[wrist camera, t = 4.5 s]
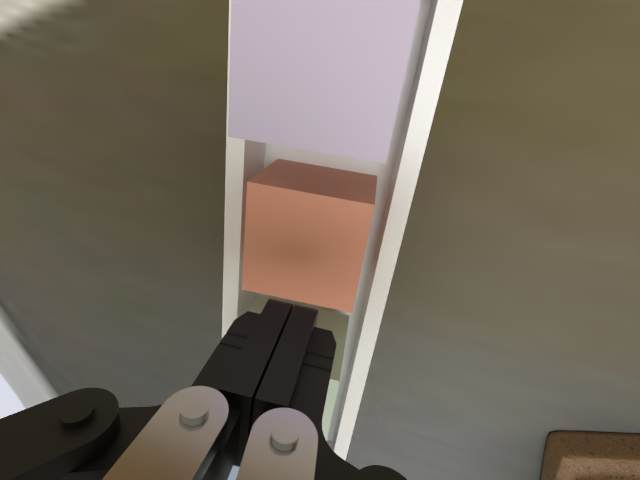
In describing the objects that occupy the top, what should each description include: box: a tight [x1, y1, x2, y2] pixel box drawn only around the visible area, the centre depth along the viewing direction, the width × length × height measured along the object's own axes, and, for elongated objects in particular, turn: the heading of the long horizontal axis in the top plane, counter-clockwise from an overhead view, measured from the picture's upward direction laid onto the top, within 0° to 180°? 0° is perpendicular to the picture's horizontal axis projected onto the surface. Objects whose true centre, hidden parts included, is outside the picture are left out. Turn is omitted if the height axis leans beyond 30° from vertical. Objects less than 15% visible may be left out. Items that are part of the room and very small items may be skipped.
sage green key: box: [249, 296, 349, 441], centre depth 18 cm, size 5×5×4 cm
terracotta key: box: [242, 159, 377, 313], centre depth 17 cm, size 5×5×4 cm
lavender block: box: [228, 0, 421, 164], centre depth 12 cm, size 5×5×4 cm
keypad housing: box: [222, 0, 463, 460], centre depth 19 cm, size 28×8×4 cm, turn 172°
